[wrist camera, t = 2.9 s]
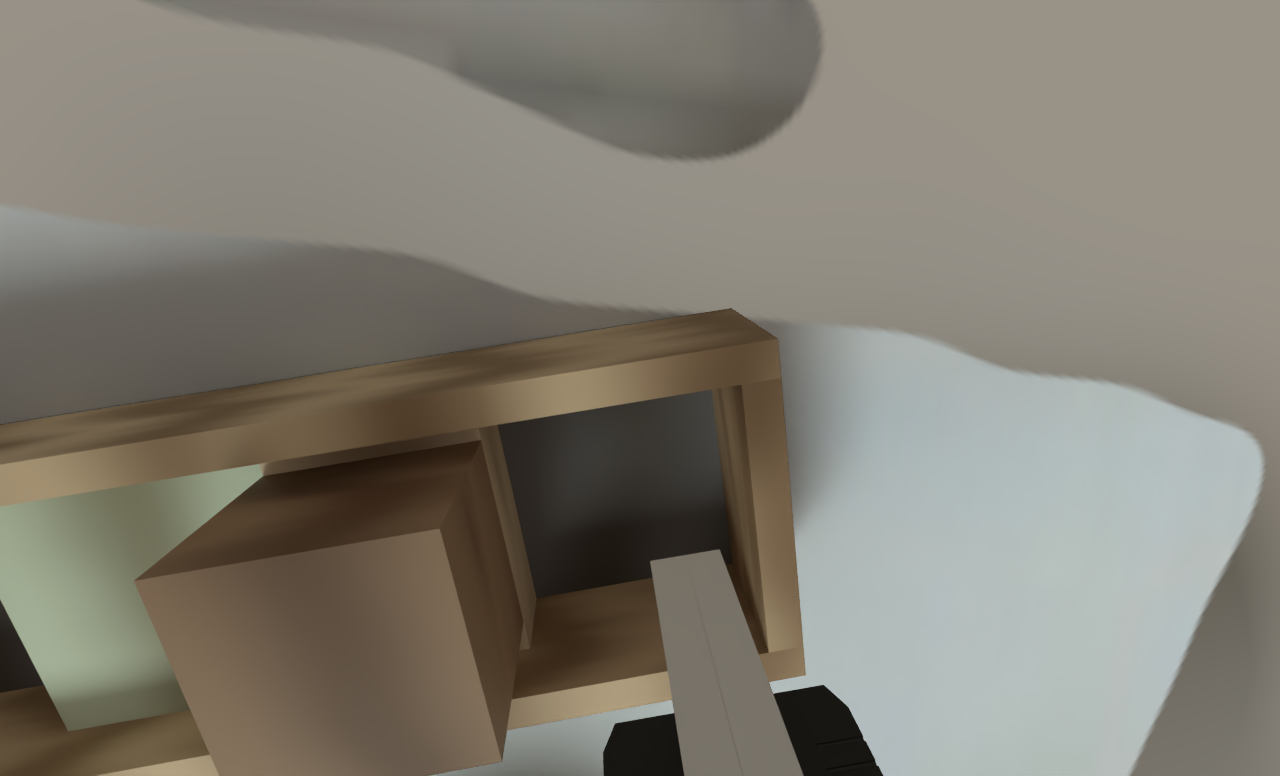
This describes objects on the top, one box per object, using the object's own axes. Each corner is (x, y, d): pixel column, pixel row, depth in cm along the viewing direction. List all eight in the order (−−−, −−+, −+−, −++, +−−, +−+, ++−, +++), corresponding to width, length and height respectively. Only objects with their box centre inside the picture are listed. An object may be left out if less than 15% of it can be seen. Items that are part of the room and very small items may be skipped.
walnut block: (326, 656, 18) (234, 811, 14) (263, 475, 17) (133, 580, 12) (523, 621, 19) (501, 762, 14) (481, 440, 17) (439, 528, 12)
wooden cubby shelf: (-86, 726, 21) (-282, 875, 16) (-245, 463, 18) (-535, 551, 14) (759, 576, 22) (805, 675, 18) (731, 308, 20) (777, 338, 15)
